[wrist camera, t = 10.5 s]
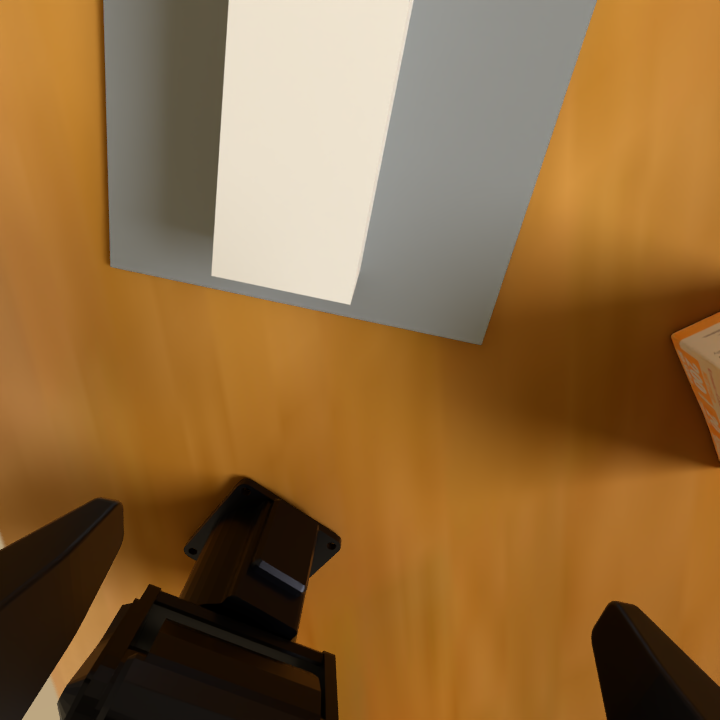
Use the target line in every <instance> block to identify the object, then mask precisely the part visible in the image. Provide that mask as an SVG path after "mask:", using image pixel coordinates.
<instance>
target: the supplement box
mask: <svg viewBox="0 0 720 720" xmlns="http://www.w3.org/2000/svg"><path fill="white" fill-rule="evenodd" d="M671 338H672V341H673V344H674V347H675V349H676V351H677V355H678V357H679V359H680V362H681V364H682V366H683V368H684V371H685V373H686V375H687V378H688V380H689V382H690V384H691V387H692V389H693V391H694V393H695V396H696V398H697V401H698V403H699V405H700V407H701V409H702V412H703V414H704V417H705V419H706V422H707V425H708V427H709V430H710V434H711V437H712V440H713V443H714V446H715V450H716V453H717V455H718V459H719V461H720V312H718V313H717V314H714V315H712V316H710V317H708V318H705V319H703V320H701V321H699V322H697V323H695V324H693V325H691V326H688V327H686V328H684V329H682V330H680V331H677V332H675V333H673V334H672V335H671Z"/></svg>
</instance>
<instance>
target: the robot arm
mask: <svg viewBox="0 0 720 720" xmlns="http://www.w3.org/2000/svg"><path fill="white" fill-rule="evenodd" d="M244 488H248V489H249V490H250V491H247V490H245V489H244ZM123 535H124V528H123V505H122V503H121V502H120V501H117V500H112V499H107V498H102V497H100V498H96V499H93V500H91V501H90V502H88V503H86V504H84V505H82V506H80V507H78V508H77V509H75V510H73V511H71V512H69V513H67V514H66V515H64V516H62V517H60V518H58V519H56V520H54V521H53V522H51V523H49V524H47V525H45V526H43V527H42V528H40V529H38V530H36V531H34V532H32V533H31V534H29V535H27V536H25V537H23V538H21V539H19V540H18V541H16V542H14V543H12V544H10V545H8V546H7V547H5V548H3V549H1V550H0V720H22V718H23V717H24V715H25V713H26V712H27V710H28V709H29V707H30V706H31V704H32V702H33V701H34V699H35V698H36V696H37V695H38V693H39V692H40V690H41V689H42V687H43V685H44V684H45V682H46V681H47V679H48V678H49V676H50V674H51V673H52V671H53V670H54V668H55V667H56V665H57V663H58V662H59V660H60V659H61V657H62V656H63V654H64V652H65V651H66V649H67V648H68V646H69V644H70V643H71V641H72V639H73V638H74V636H75V634H76V633H77V631H78V629H79V627H80V625H81V623H82V622H83V620H84V618H85V616H86V614H87V612H88V610H89V608H90V606H91V604H92V602H93V600H94V598H95V596H96V594H97V592H98V590H99V588H100V586H101V584H102V582H103V580H104V579H105V577H106V575H107V573H108V571H109V569H110V567H111V565H112V563H113V561H114V559H115V557H116V555H117V553H118V551H119V549H120V547H121V544H122V541H123ZM330 543H334V544H330ZM340 548H341V538H340V537H339V536H338V535H337V534H335V533H333V532H332V531H330V530H329V529H327V528H326V527H324V526H323V525H321V524H319V523H318V522H316V521H315V520H313V519H312V518H310V517H309V516H307V515H305V514H304V513H302V512H301V511H299V510H298V509H296V508H295V507H293V506H291V505H290V504H288V503H287V502H285V501H284V500H282V499H280V498H279V497H277V496H276V495H274V494H273V493H271V492H270V491H268V490H266V489H265V488H263V487H262V486H260V485H259V484H257V483H256V482H254V481H252V480H250V479H243V480H241V481H240V482H239V483H238V484H237V485H236V486H235V488H234V489H233V490H232V491H231V492H230V493H229V495H228V496H227V497H226V498H225V499H224V500H223V501H222V503H221V504H220V505H219V506H218V507H217V508H216V509H215V511H214V512H213V513H212V514H211V515H210V516H209V518H208V519H207V520H206V521H205V522H204V523H203V524H202V526H201V527H200V528H199V529H198V530H197V531H196V533H195V534H194V535H193V536H192V537H191V538H190V539H189V541H188V542H187V544H186V546H185V548H184V552H185V554H186V555H187V556H189V557H190V558H192V559H194V560H196V563H195V565H194V567H193V569H192V571H191V573H190V575H189V578H188V580H187V582H186V584H185V586H184V588H183V590H182V592H181V594H180V596H179V598H178V597H176V596H173V595H170V594H168V593H165V592H163V591H161V588H159V587H156V586H154V585H151V584H149V585H148V587H147V589H146V590H145V592H144V593H143V595H142V597H141V598H140V600H139V599H136V598H135V600H134V601H133V603H130V604H125V605H122V606H121V608H120V610H119V611H118V613H117V615H116V616H115V618H114V620H113V621H112V623H111V625H110V626H109V628H108V630H107V631H106V633H105V635H104V636H103V638H102V639H101V641H100V642H99V644H98V645H97V647H96V648H95V649H94V650H93V652H92V653H91V654H90V656H89V657H88V658H87V660H86V661H85V662H84V664H83V665H82V666H81V667H80V669H79V670H78V671H77V673H76V674H75V675H74V677H73V678H72V679H71V680H70V682H69V683H68V684H67V686H66V688H65V689H64V691H63V693H62V694H61V696H60V698H59V700H58V703H57V705H58V710H59V715H60V720H338V700H337V680H336V661H335V655H333V654H331V653H328V652H326V651H323V652H319V651H317V650H314V649H311V648H309V647H306V646H304V645H301V644H298V643H296V638H297V633H298V628H299V623H300V618H301V613H302V608H303V603H304V598H305V593H306V590H307V586H308V581H309V578H310V577H311V576H312V575H313V574H314V573H315V572H316V571H317V570H319V569H320V568H321V567H322V566H323V565H324V564H325V563H326V562H327V561H328V560H329V559H331V558H332V557H333V556H334V555H335V554H336V553H337V552H338V551H339V550H340ZM591 640H592V647H593V652H594V657H595V662H596V667H597V672H598V677H599V682H600V687H601V692H602V697H603V702H604V707H605V712H606V717H607V720H720V687H719V686H718V685H717V684H716V683H715V682H714V681H713V680H712V679H711V678H710V677H709V676H708V675H707V674H706V673H705V672H704V671H703V670H702V669H701V668H700V667H699V666H698V665H697V664H696V663H695V662H694V661H693V660H691V659H690V658H689V657H688V656H687V655H686V654H685V653H684V652H683V651H682V650H681V649H680V648H679V647H678V646H677V645H676V644H675V643H674V642H673V641H672V640H671V639H670V638H669V637H668V636H667V635H666V634H665V633H664V632H663V631H662V630H661V629H660V628H659V627H658V626H657V625H656V624H655V623H654V622H653V621H652V620H651V619H650V618H649V617H648V616H647V615H646V614H644V613H643V612H642V611H641V610H640V609H639V608H638V607H637V606H635V605H633V604H628V603H624V602H619V601H612V602H610V603H609V604H608V605H607V606H606V608H605V610H604V611H603V613H602V614H601V616H600V618H599V619H598V621H597V623H596V624H595V626H594V628H593V630H592V636H591Z"/></svg>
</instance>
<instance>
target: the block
mask: <svg viewBox="0 0 720 720" xmlns="http://www.w3.org/2000/svg"><path fill="white" fill-rule="evenodd" d="M413 1H414V0H229V5H228V21H227V36H226V52H225V68H224V84H223V100H222V115H221V131H220V147H219V163H218V178H217V194H216V210H215V226H214V242H213V257H212V273H211V276H215V277H220V278H224V279H229V280H234V281H239V282H244V283H248V284H253V285H258V286H263V287H267V288H272V289H277V290H282V291H286V292H291V293H296V294H301V295H306V296H310V297H315V298H320V299H325V300H329V301H334V302H339V303H344V304H348V305H350V304H351V300H352V297H353V293H354V290H355V286H356V283H357V279H358V276H359V272H360V268H361V263H362V258H363V253H364V248H365V242H366V237H367V232H368V227H369V222H370V217H371V212H372V207H373V202H374V197H375V192H376V187H377V182H378V177H379V172H380V167H381V162H382V157H383V152H384V147H385V142H386V137H387V132H388V127H389V122H390V117H391V112H392V107H393V102H394V97H395V92H396V87H397V82H398V77H399V72H400V66H401V61H402V56H403V51H404V46H405V41H406V36H407V31H408V26H409V21H410V16H411V11H412V6H413Z"/></svg>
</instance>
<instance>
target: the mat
mask: <svg viewBox="0 0 720 720" xmlns="http://www.w3.org/2000/svg"><path fill="white" fill-rule="evenodd" d="M596 2H597V0H414V1H413V6H412V11H411V16H410V21H409V26H408V31H407V36H406V41H405V46H404V51H403V56H402V61H401V66H400V72H399V77H398V82H397V87H396V92H395V97H394V102H393V107H392V112H391V117H390V122H389V127H388V132H387V137H386V142H385V147H384V152H383V157H382V162H381V167H380V172H379V177H378V182H377V187H376V192H375V197H374V202H373V207H372V212H371V217H370V222H369V227H368V232H367V237H366V242H365V248H364V253H363V258H362V263H361V268H360V272H359V276H358V279H357V283H356V286H355V290H354V293H353V297H352V300H351V304H350V305H348V304H344V303H339V302H334V301H329V300H325V299H320V298H315V297H310V296H306V295H301V294H296V293H291V292H286V291H282V290H277V289H272V288H267V287H263V286H258V285H253V284H248V283H244V282H239V281H234V280H229V279H224V278H220V277H215V276H211V273H212V257H213V242H214V226H215V210H216V194H217V178H218V163H219V147H220V131H221V115H222V100H223V84H224V68H225V52H226V36H227V21H228V5H229V0H103V4H104V42H105V80H106V118H107V155H108V193H109V231H110V267H114V268H118V269H123V270H128V271H133V272H137V273H142V274H147V275H152V276H156V277H161V278H166V279H170V280H175V281H180V282H185V283H189V284H194V285H199V286H204V287H208V288H213V289H218V290H223V291H227V292H232V293H237V294H241V295H246V296H251V297H256V298H260V299H265V300H270V301H275V302H279V303H284V304H289V305H293V306H298V307H303V308H308V309H312V310H317V311H322V312H327V313H331V314H336V315H341V316H346V317H350V318H355V319H360V320H364V321H369V322H374V323H379V324H383V325H388V326H393V327H398V328H402V329H407V330H412V331H416V332H421V333H426V334H431V335H435V336H440V337H445V338H450V339H454V340H459V341H464V342H468V343H473V344H478V345H482V342H483V339H484V336H485V333H486V330H487V327H488V324H489V321H490V318H491V315H492V312H493V309H494V306H495V303H496V300H497V297H498V294H499V291H500V288H501V285H502V282H503V279H504V276H505V273H506V270H507V267H508V264H509V261H510V258H511V255H512V252H513V249H514V246H515V243H516V240H517V237H518V234H519V231H520V228H521V225H522V222H523V219H524V216H525V213H526V210H527V207H528V204H529V201H530V198H531V195H532V192H533V190H534V187H535V184H536V181H537V178H538V175H539V172H540V169H541V166H542V163H543V160H544V157H545V154H546V151H547V148H548V145H549V142H550V139H551V136H552V133H553V130H554V127H555V124H556V121H557V118H558V115H559V112H560V109H561V106H562V103H563V100H564V97H565V94H566V91H567V88H568V85H569V82H570V79H571V76H572V73H573V70H574V67H575V64H576V61H577V58H578V55H579V52H580V49H581V46H582V43H583V40H584V37H585V34H586V31H587V28H588V25H589V22H590V19H591V16H592V13H593V10H594V7H595V5H596Z"/></svg>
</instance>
